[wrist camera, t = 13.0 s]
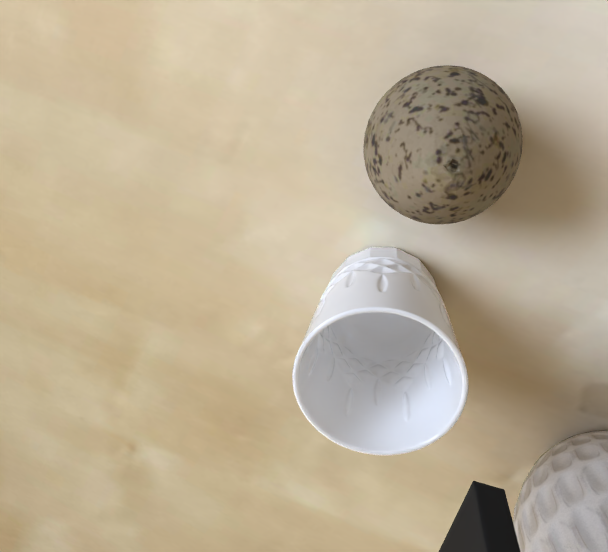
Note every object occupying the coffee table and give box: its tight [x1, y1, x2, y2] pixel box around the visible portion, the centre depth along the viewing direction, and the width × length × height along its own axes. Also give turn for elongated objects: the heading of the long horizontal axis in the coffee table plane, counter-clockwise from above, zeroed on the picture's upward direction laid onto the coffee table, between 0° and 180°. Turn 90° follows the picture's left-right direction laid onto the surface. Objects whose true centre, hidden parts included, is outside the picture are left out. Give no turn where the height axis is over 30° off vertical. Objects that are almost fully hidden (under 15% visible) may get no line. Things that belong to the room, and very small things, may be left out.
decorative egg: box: [364, 66, 522, 224], centre depth 24 cm, size 7×7×10 cm
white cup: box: [293, 247, 468, 455], centre depth 28 cm, size 8×8×10 cm
